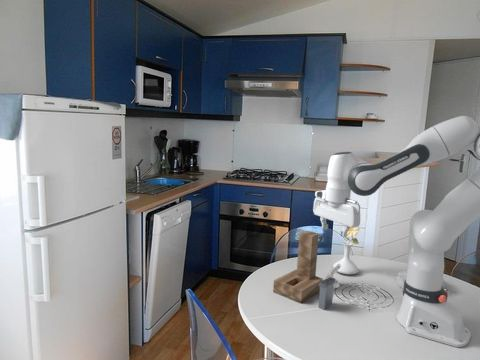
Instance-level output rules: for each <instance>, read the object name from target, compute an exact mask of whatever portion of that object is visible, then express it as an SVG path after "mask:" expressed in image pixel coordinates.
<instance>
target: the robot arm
mask: <svg viewBox="0 0 480 360" xmlns="http://www.w3.org/2000/svg"><path fill="white" fill-rule="evenodd" d="M462 151H467V152H468V153H470V155H472V156H473V157H474V158H475V159H476V160H478V161H480V126H479V125H478V123H477V122H476V121H475V120H474V119H473V118H472V117H470V116H467V115H460V116H456V117H453V118H450V119H448V120H445V121H441V122H439V123H437V124H435V125H432V126H431V127H429V128H427V129H425V130H423V131H421V132H420V133H419V134H418V135H416V136H415V137H413V139H411V141H410V142H409V143H408V145H407V146H406V147H405V148H403V149H402V150H401V151H399V152H397V153H396V154H394V155H392V156H390V157H388V158H386V159H383V160H382V161H379V162H378V163H375V164H373V163H370V162H368V161H365V160H363V159H361V158H359V157H358V156H356V155H355V154H354V153H353V152H350V151H341V152H336V153H333V154H332V155H331V156H330V158H329V161H328V167H327V173H326V176H327V182H326V186H325V189H323V190H317V191H315V193H314V196H315V198H314V201H313V207H312V211H313V215H315V216H318V217H320V219H319V220H320V223H321V229H323V230H328V229H329V224H328V223H327V220H329V221H332V222H335V223H338V224H340V225H343V226H344V228H345V229H344V230H343V229H342V230H340V236H341V237H342V238H345V237H346V236H347V232H348V231H349V229H350V228H354V227H358V226H359V227H360V225H361V205H360V204H359V202H358V201H356V200H353V199H351V193H352V192H353V193H354V194H356V195H357V196H360V197H361V196H362V197H367V196H371V195H373V194H374V193H376V192H377V191H378V190H379V189H380V188H381V186H382V185H384V184H385V183H386V182H388V181H389V180H391V179H394V178H395V177H397V176H399V175H401V174H404V173H406V172H408V171H409V170H412V169H414V168H418V167H421V166H424V165H426V166H427V165H429V164H432V163H436V162H438V161H439V162H440V161H441V160H443V159H446V158H449V157H451V156H453V155H455V154H457V153H460V152H462ZM478 218H480V167H479V168H478V169H477V170H476V171H475V172H474V173H473V174H471V175H469V176H468V177H467V178H466V179H465V180H463V181H462V182H461V183H459V185H457V186H455V188H453V189H452V190H450V191H449V192H448V193H447V194H446V195H445V196H444V197H443V199H442V200H441V201H440V202H439V204H438V205H437V206H436V207H435V208H434V209H433V210H431V209H420V210H417V212H414V213H413V215H412V216H411V219H410V222H409V230H408V231H409V232H408V233H409V234H408V252H407V253H408V258H407V266H406V270H407V274H406V280H405V281H404V285H403V288H402V301H401V304H400V308H399V309H398V312H397V314H396V321H397V322H398V323H399V324H400V325H401V326H402V327H403V328H404V329H405V330H406V332H407V334H408V333H409V334H411V335H414V336H417V337H421V338H424V339H428V340H431V341H435V342H439V343H441V344H445V345H449V346H452V347H455V348H462V347H465V346H467V345H468V344H469V342H470V340H471V337H472V336H471V335H472V334H471V331H470V330H469V328H468V327H466V326H464V317H463V315H462V313H461V312H459V310H457V309H456V308H455V307H454V306H453V305H452V303H450V302H449V301H448V295H449V290H447V289H446V291H445V290H444V289H443V288H442V281H443V279H444V271H445V252H447V251H449V250H450V249H451V247H452V246H453V244H454V242H455V241H456V240H457V239H458V238H459V237H460V236H461V234H463V233H464V231H465V230H466V229H467V228H468V227H469V226H470V225H471V224H472V223H473V222H474V221H476V220H477V219H478Z"/></svg>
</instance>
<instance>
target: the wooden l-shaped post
mask: <svg viewBox="0 0 480 360" xmlns="http://www.w3.org/2000/svg"><path fill="white" fill-rule="evenodd" d="M298 235H299V236H298V247H297V248H298V249H297V250H298V251H297V260H296V261H297V264H296V269H294V270H292V271H290V272H288V273H286V274H284V275H282V276H279V277H278V278H275V279H274V280H273V286H272V287H273V289H272V292H273V293H275V294H276V295H279V296H282V297H285V298H287V299H289V300H292V301H294V302H296V303H299V304H302V303H304V302H305V301H308V300H309V299H311V298H312V297H314V296H315V295H317V294H320V286H319V283H320V282H322V281H323V279H324V278H323V277H321V276H320V277H319V276H317V275H316V274H317V273H316V272H317V262H318V261H317V260H318V248H319V236H320V234H319V233H316V232H312V231H307V230H304V231H302V232H299V234H298Z"/></svg>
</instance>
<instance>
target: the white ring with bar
mask: <svg viewBox="0 0 480 360" xmlns="http://www.w3.org/2000/svg"><path fill="white" fill-rule="evenodd" d="M340 267H341V265H340V264H337V265H336V266H335V267H334V268H333V267H332V269H331V270H329V272H328V273H327V275H326V276H325V278H322V279H323V280H325V279H327V278H328V277H332V278H334V274H335V273H337V270H338V269H339V268H340ZM339 287H340V282H339V280H338V279H336V278H335V282H334V288H333V289H338V288H339Z"/></svg>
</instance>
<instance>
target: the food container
mask: <svg viewBox="0 0 480 360" xmlns="http://www.w3.org/2000/svg"><path fill="white" fill-rule="evenodd" d="M406 274H407V269H406V270H402V271H399V272H398V273H397V278H395V284H396V285H397V286H398V287H400V288H401V289H403V285H404V281H405V280H406ZM445 284H446V282H445V278H443V281H442V288H443V289H446V290H447V288H446V286H445Z"/></svg>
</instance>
